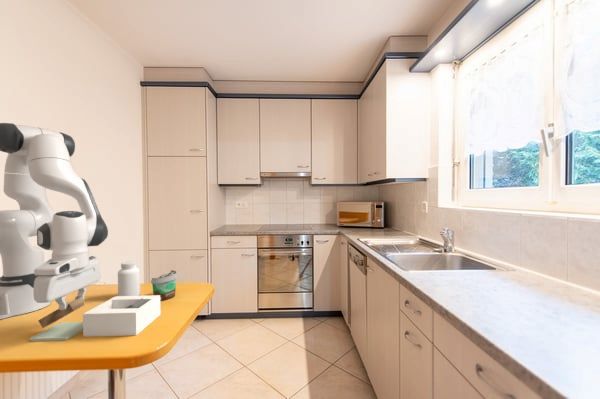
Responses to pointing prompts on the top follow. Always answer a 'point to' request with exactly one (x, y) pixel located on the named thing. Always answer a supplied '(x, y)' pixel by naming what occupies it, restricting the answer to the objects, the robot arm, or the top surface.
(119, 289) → the pill bottle
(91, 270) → the robot arm
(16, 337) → the top surface
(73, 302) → the walnut slab
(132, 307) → the cradle
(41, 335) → the sage pad
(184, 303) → the top surface
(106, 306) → the pocket jig
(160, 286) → the food container
